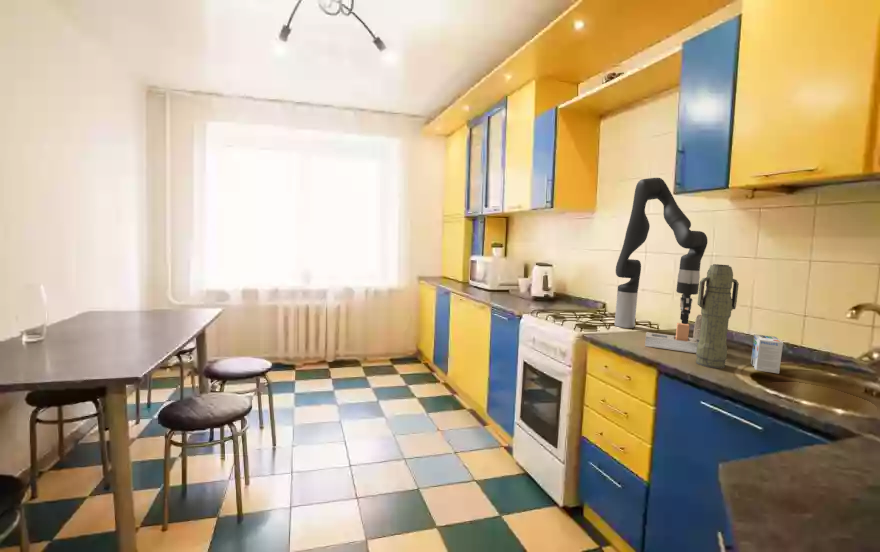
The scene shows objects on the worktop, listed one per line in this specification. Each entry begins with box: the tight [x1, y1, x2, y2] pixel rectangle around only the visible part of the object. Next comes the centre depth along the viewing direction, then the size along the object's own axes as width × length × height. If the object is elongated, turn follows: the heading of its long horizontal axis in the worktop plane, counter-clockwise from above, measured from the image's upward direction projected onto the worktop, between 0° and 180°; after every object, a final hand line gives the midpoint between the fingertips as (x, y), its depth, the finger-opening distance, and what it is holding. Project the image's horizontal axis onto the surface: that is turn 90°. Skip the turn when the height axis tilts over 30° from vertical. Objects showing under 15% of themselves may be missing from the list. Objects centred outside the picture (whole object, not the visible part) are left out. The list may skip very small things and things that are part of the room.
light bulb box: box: [750, 334, 784, 374], centre depth 153 cm, size 11×7×11 cm, turn 154°
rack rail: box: [644, 331, 700, 354], centre depth 176 cm, size 10×26×4 cm, turn 64°
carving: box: [692, 314, 702, 339], centre depth 188 cm, size 6×8×12 cm
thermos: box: [695, 263, 739, 369], centre depth 153 cm, size 9×12×35 cm
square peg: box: [675, 322, 690, 341], centre depth 176 cm, size 4×4×10 cm
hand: (683, 321), depth 176 cm, fingers open, 8 cm apart
